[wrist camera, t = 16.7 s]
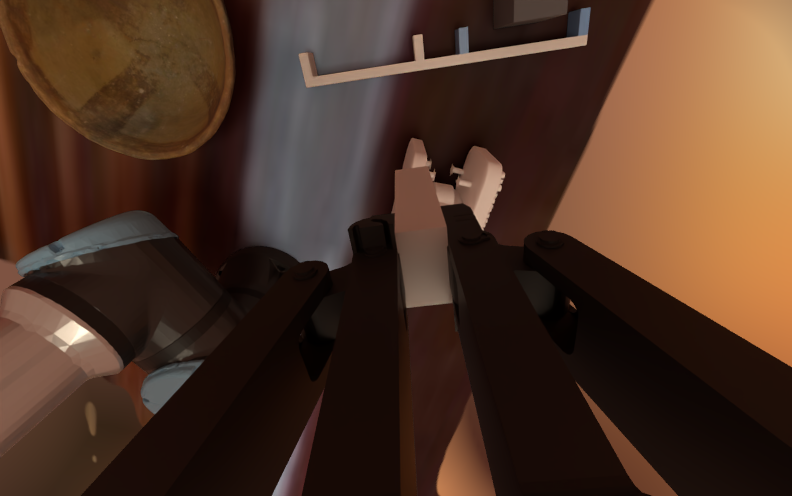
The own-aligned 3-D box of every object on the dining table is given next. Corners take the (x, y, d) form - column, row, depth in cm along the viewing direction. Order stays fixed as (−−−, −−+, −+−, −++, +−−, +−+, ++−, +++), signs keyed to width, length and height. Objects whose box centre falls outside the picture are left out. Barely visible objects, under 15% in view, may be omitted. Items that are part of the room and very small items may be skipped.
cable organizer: (411, 127, 45) (415, 146, 35) (486, 146, 47) (511, 170, 36) (386, 227, 52) (384, 267, 42) (452, 241, 54) (466, 284, 43)
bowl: (47, 54, 42) (-46, 52, 33) (123, -144, 34) (26, -217, 25) (212, 175, 49) (171, 200, 40) (307, 35, 41) (282, 28, 32)
